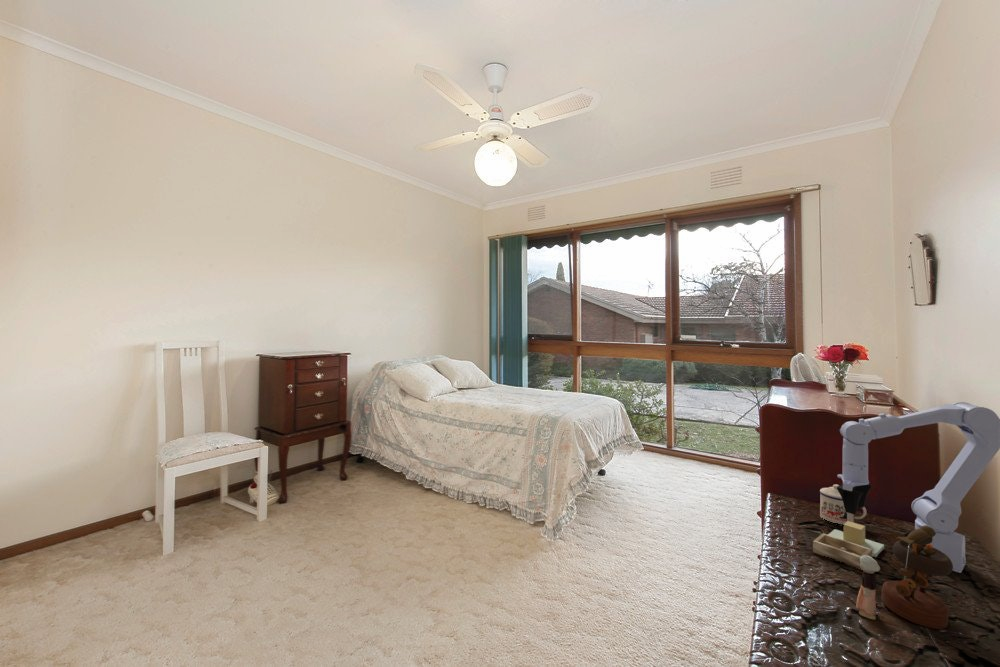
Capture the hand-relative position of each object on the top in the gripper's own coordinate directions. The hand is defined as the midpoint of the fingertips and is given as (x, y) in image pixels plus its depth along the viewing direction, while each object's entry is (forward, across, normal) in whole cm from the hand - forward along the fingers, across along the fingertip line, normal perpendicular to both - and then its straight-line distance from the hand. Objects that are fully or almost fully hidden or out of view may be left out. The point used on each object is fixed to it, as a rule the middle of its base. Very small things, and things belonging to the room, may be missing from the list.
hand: (854, 509), depth 121 cm
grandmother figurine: (+10, +36, +11) cm, 39 cm away
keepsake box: (+10, +11, 0) cm, 15 cm away
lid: (+10, 0, 0) cm, 10 cm away
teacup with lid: (+11, -16, -7) cm, 20 cm away
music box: (+11, +26, +17) cm, 33 cm away
